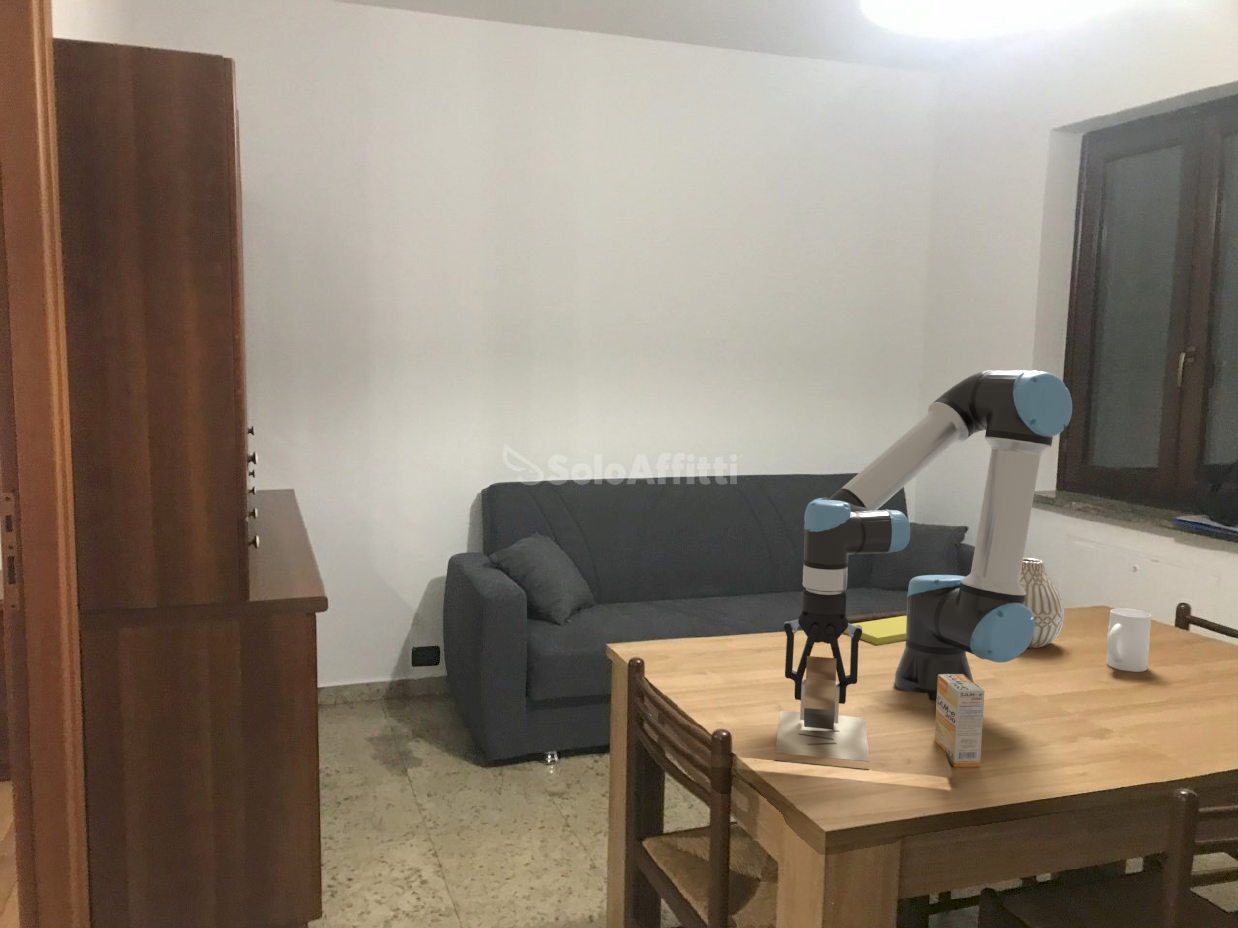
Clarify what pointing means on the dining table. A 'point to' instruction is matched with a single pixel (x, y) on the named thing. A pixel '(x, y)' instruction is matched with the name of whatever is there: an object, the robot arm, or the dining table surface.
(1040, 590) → the vase
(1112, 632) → the mug
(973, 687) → the supplement box
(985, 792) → the dining table surface
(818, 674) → the block
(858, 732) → the board
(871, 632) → the yellow rectangular slab
